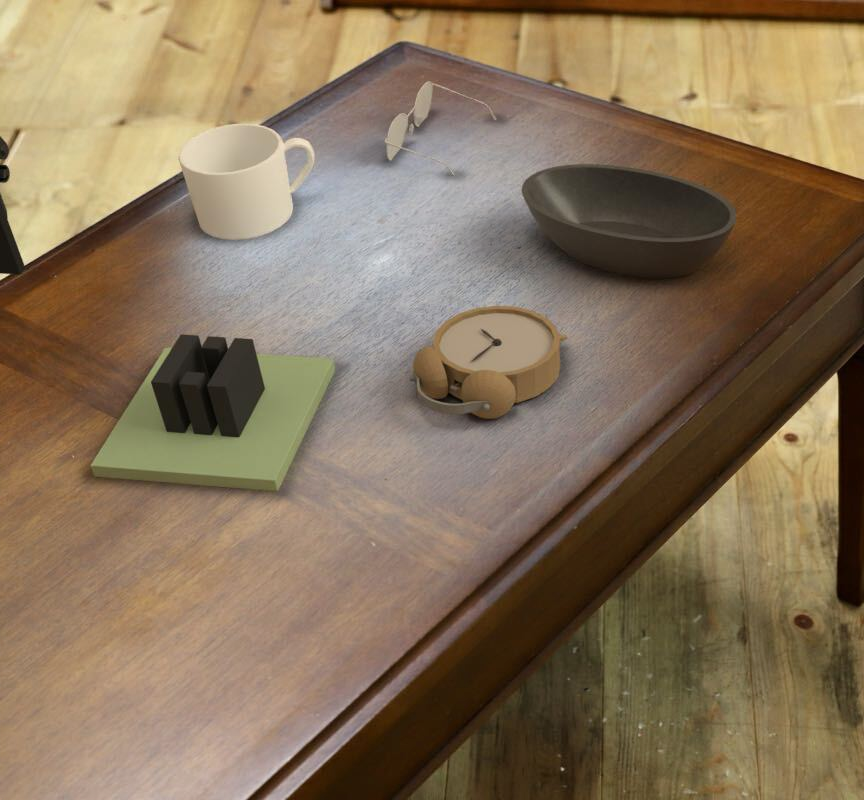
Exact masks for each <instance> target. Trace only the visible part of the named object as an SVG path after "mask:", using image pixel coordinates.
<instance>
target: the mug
mask: <svg viewBox="0 0 864 800" xmlns="http://www.w3.org/2000/svg"><path fill="white" fill-rule="evenodd" d="M293 148H302V149H304V151H305V153H306V158H307V159H306V162H305V165H304V166H303V168H302V169H301V170H300V172H298V174H297V176H296V177H295V178H294V179H293V181H292V182H291V183H290V178H289V173H288V166H287V158H286V152H287V151H289V150H291V149H293ZM315 158H316V156H315V151H314V148H313V146H312V144H311V143H310V142H309V141H308V140H307V139H305V138H302V137H292V138H290V139H287V140H285V142H284V141H283V139H282V136H281V135H280V134H279V133H277V131H275V130H274V129H272V128H270V127H268V126H266V125H261V124H256V123H232V124H225V125H220V126H215V127H213V128H210V129H207V130H203V131H202V132H200V133H198V134H196V135H194V136H193V137H191V138H189V140H187V141H186V142H185V143H184V144H183V145H182V147H181V148H180V151H179V153H178V161H179V165H180V168H181V172H182V175H183V178H184V180H185V181H184V182H185V184H186V187H187V191H188V193H189V197H190V200H191V202H192V203H191V204H192V206H193V209H194V212H195V215H196V218H197V221H198V225H199V228H200V229H201V230H202V231H203V232H204V233H205V234H207V235H208V236H211V237H212V238H216V239H221V240H230V241H238V240H248V239H254V238H257V237H261V236H264V235H266V234H269V233H272V232H273V231H275V230H277V229H279V228H280V227H282V226H283V225H284V224H285V223H287V222H288V221H289V219H290V218H291V216H292V214H293V212H294V211H293V210H294V203H293V199H292V198H293V197H292V194H293V193H295V192H297V190H298V189H299V188H300V187H301V185H302V183H303V182H304V181H305V180H306V178H307V177H308V176H309V174H310V173H311V171H312V170H313V168H314V165H315V160H316V159H315Z"/></svg>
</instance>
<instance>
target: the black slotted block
mask: <svg viewBox="0 0 864 800" xmlns="http://www.w3.org/2000/svg"><path fill="white" fill-rule="evenodd" d="M200 339H201V338H200V336H199V335H198V334H197V335H196V334H181V333H180V335H179V336H178V338H177V339H176V340H175V342H174V345H173V346H172V347H171V348H172V349H171V351H170V352H169V354H168V355H167V357H166V359H165V360H164V362H163V363H162V365H161V366H160V368H159V370H158V371H157V373H156V374H155V376H154V378H153V379H152V381H151V384H152V387H153V390H154V394H155V397H156V400H157V403H158V406H159V409H160V412H161V415H162V419H163V422H164V425H165V428H166V431H167V432H174V433H185V432H186V430H187V429H188V427H189V425H190V423H191V425H192V428H193V432H194V434H202V435H212V434H213V432H214V430H215V428H216V427H217V425H218V426H219V430H220V433H221V436H228V437H240V435H241V433H242V432H243V430H244V428H245V426H246V424H247V422H248V420H249V418H250V416H251V414H252V413H253V411H254V409H255V407H256V405H257V403H258V401H259V399H260V397H261V395H262V394H263V392H264V390H265V386H264V382H263V378H262V374H261V370H260V366H259V362H258V358H257V354H258V353H257V351H256V347H255V343H254V339H253V338H244V337H243V338H241V337H234V338H233V340H232V341H231V343H230V344H229V346H228V343H227V338H226V337H225V336H210V335H208V336H207V337H206V339H205V340H204V342H203V344H202V341H201V340H200Z"/></svg>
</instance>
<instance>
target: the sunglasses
mask: <svg viewBox="0 0 864 800" xmlns="http://www.w3.org/2000/svg"><path fill="white" fill-rule="evenodd" d="M434 86H435V87H438V88H439V89H443V90H446V91H447V92H452V93H453V94H456V95H459V96H462V97H464V98H467V99H470V100H473V101H474V102H476V103H479V104H482V105H484V106H485V107H486V108H487V109H488V110H489V112H490V114H491V117H492V118H493V121H497V118H496V116H495V115H494V113H493V111H492V109H491V108H490V106H489V105H488V104H487V103H485V102H483V101H481V100H478V99H476V98H472V97H470V96H467V95H464V94H462V93H460V92H457V91H454V90H452V89H450V88H448V87H445V86H442V85H440V84H437V83H434V82H433V83H432V81H429V80H428V81H426V82H425V83H424V84H423V85H422V86H421V87H420V89H419V90H418V92H417V95H416V98H415V102H414V106H413V107H412V109H411V110H410V111H409V112H408V114H406V113H404V112H402V113H399V114H398V115H397V116H396V117H395V118H394V119H393V120H392V122H391V123H390V126H389V128H388V131H387V136H386V137H385V139H384V144H386V146H385V147H386V150H385V151H386V158H387V160H388V161H389V162H391V161H392V160H393V158H394V157H395V156H396V154H397V153H398V152H400V150H404V151H407V152H410V153H412V154H416V155H419V156H422V157H425V158H429V159H430V160H433V161H436V162H438V163H441V164H443V165H444V166H445V167H446V168H447V169H448V171H449V173H451V175H452V176H456V175H455V174H454V172H453V170H452V169H451V168H450V167H449V165H448V164H446V163H445V162H444V161H442V160H439V159H437V158H434V157H431V156H428V155H425V154H422V153H419V152H417V151H414V150H411V149H408V148H406V147H403V144H404V140H405V137H406V134H407V131H408V137H411V136H412V135H413V132H414V129H415V127H417V128H419V127H420V125H421V124H423V122H424V121H425V120H426V119H427V117H428V115H429V112H430V110H431V104H432V99H433V92H434V91H433V90H434ZM412 113H413V123H410V124H409V117H410V115H411V114H412Z"/></svg>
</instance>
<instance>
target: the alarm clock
mask: <svg viewBox="0 0 864 800" xmlns="http://www.w3.org/2000/svg"><path fill="white" fill-rule="evenodd" d="M567 339H568V335H567V334H559V331H558V328H557V326H556V325H555V324H554V323H552V321H551V320H549V318H547V317H546V316H544V315H542V314H540V313H538V312H536V311H534V310H530V309H526V308H522V307H519V306H508V305H491V306H482V307H475V308H472V309H469V310H466V311H463V312H460V313H457V314H456V315H454V316H452V317H450V318H448V319H447V320H445V321H444V322H443V323H442V324H441V325H440V326H439V327H438V328H437V329H436V331H435V333H434V336H433V339H432V346H430V345H428V346H425V347H423V348H422V349H420V350H419V351H418V352H417V353H416V354H415V356H414V359H413V363H412V374H411V375H410V376H409V381H410V382H415V385H416V391H417V398H418V401H419V402H420V403H421V404H422V405H423V406H425V408H428V409H430V410H431V411H434V412H436V413H440V414H446V415H463V414H468V413H469V414H472V415H474V416H477V417H478V418H480V419H486V420H492V419H498V418H500V417H503V416H504V415H506V414H507V413H508V412H510V410H511V409H512V407H513V405H514V404H517V403H521V402H524V401H527V400H529V399H533V398H536V397H538V396H539V395H540V394H542V393H544V392H545V391H547V390H549V389H550V388H551V387H552V386H553V385H554V383H555V382H556V381H557V379H558V378H559V375H560V369H561V355H560V353H561V350H560V349H561V348H560V347H561V346H560V343H561V342H564V341H565V340H567ZM448 394H450V395H452V396H453V397H456V398H457V399H459V400H462V403H448V402H443V401H438V400H442V399H445V398H446V397H447V396H448Z"/></svg>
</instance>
